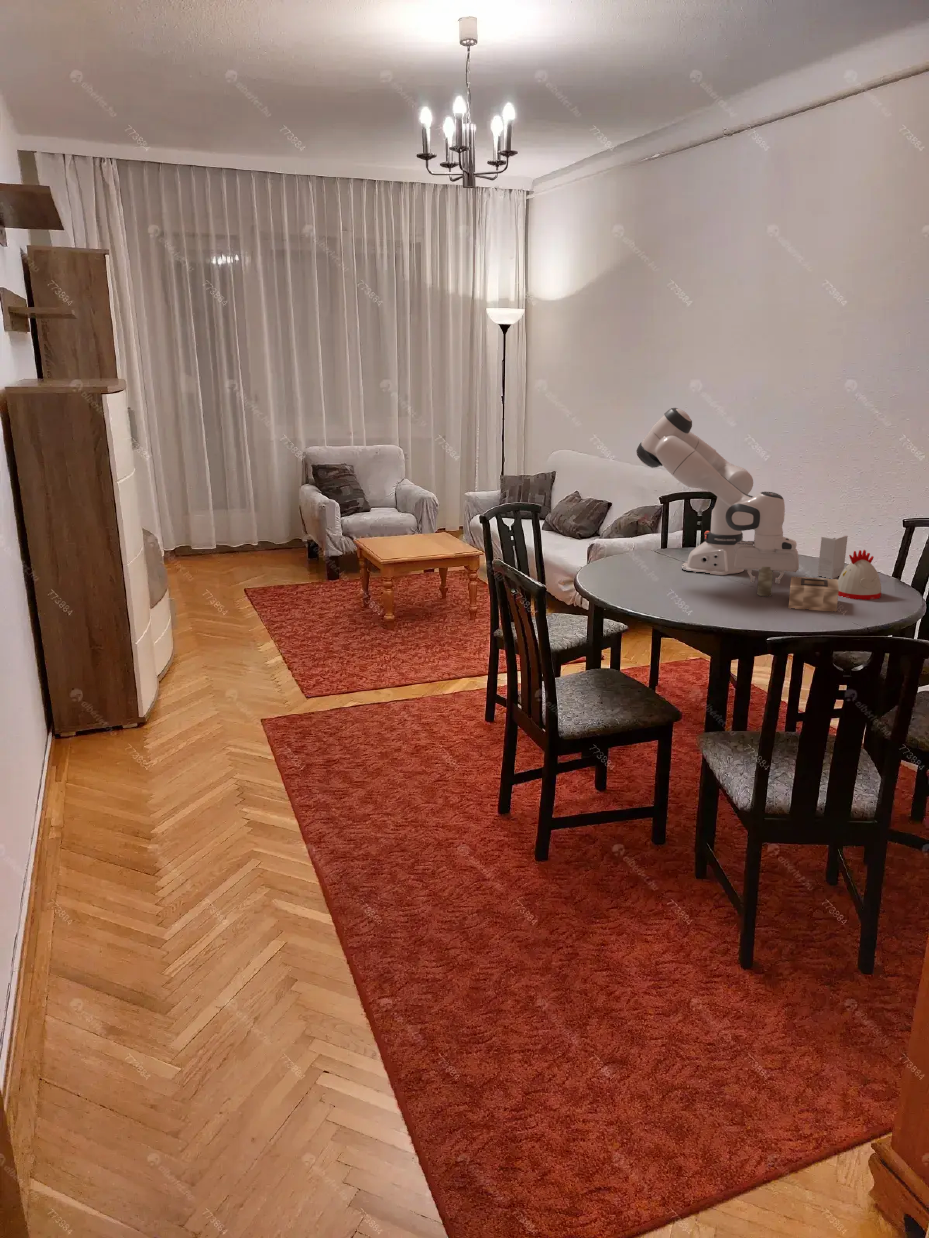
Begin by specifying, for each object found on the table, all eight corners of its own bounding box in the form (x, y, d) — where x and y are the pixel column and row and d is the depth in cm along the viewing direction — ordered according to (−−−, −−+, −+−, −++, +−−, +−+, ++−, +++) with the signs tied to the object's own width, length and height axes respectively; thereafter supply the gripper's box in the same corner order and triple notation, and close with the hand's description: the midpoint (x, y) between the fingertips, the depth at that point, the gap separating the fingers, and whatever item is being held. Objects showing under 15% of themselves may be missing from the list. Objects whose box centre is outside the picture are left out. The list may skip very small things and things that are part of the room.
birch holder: (788, 608, 273) (790, 585, 271) (789, 597, 286) (791, 575, 283) (836, 611, 268) (838, 588, 266) (835, 600, 281) (837, 578, 279)
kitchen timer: (827, 590, 293) (831, 546, 289) (865, 588, 294) (870, 544, 290) (849, 601, 280) (854, 555, 275) (889, 598, 281) (894, 553, 277)
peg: (756, 596, 288) (758, 566, 285) (757, 592, 292) (759, 563, 289) (770, 596, 286) (773, 567, 284) (771, 593, 290) (773, 564, 288)
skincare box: (828, 572, 316) (832, 532, 312) (844, 575, 312) (848, 534, 307) (816, 576, 311) (820, 535, 307) (832, 579, 307) (836, 538, 302)
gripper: (734, 542, 285) (731, 582, 289) (800, 545, 278) (797, 587, 282) (735, 538, 291) (733, 578, 295) (800, 541, 283) (797, 582, 287)
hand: (764, 582), depth 288 cm, fingers open, 6 cm apart
